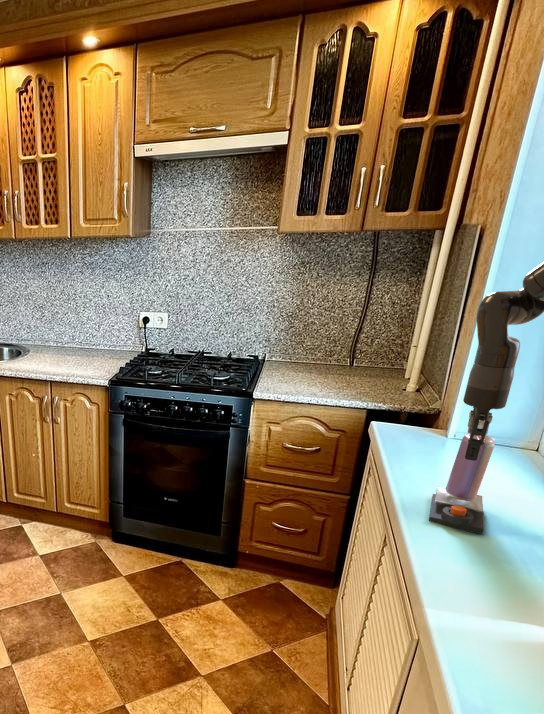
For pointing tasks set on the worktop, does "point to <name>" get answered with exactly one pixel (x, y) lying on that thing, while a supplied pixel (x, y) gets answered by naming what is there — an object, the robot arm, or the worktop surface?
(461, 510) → the button
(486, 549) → the worktop surface
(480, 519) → the scale
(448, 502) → the scale pan
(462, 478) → the beverage can
